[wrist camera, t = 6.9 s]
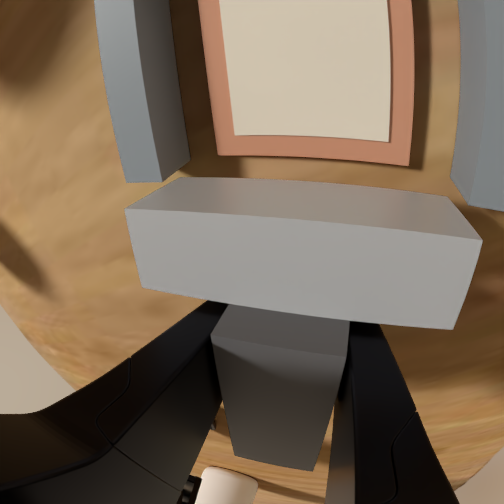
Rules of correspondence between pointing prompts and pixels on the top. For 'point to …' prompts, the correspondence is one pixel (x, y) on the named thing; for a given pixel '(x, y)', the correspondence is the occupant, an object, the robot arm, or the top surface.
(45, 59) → the top surface
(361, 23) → the tile
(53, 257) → the top surface
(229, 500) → the wine bottle
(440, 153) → the top surface
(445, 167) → the top surface
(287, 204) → the grey block mallet
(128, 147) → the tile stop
